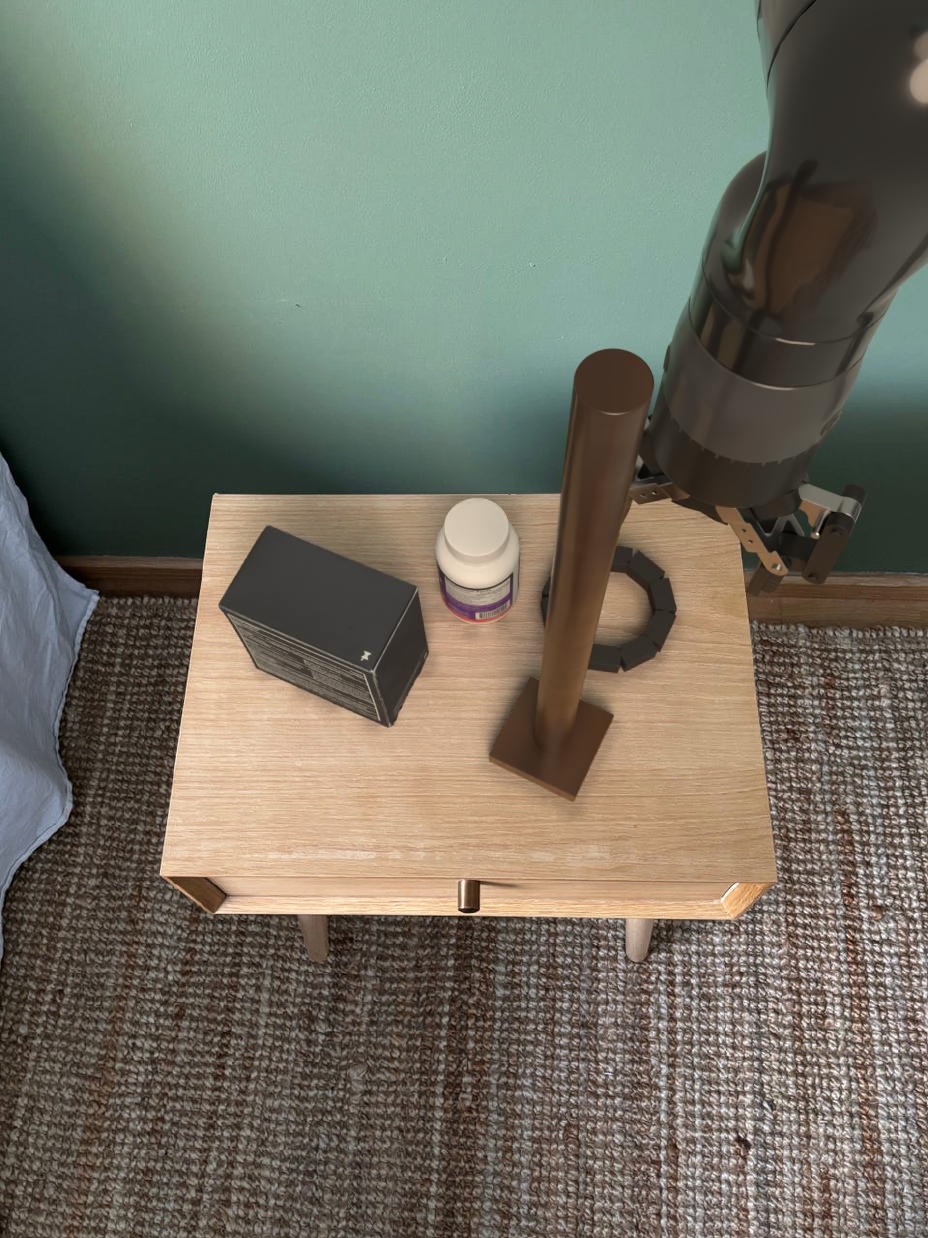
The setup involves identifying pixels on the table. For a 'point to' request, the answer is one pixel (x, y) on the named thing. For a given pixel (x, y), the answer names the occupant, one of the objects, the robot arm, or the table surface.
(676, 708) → the table surface
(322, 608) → the small box
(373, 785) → the table surface
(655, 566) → the ring
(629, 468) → the brown upright dowel
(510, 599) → the pill bottle
